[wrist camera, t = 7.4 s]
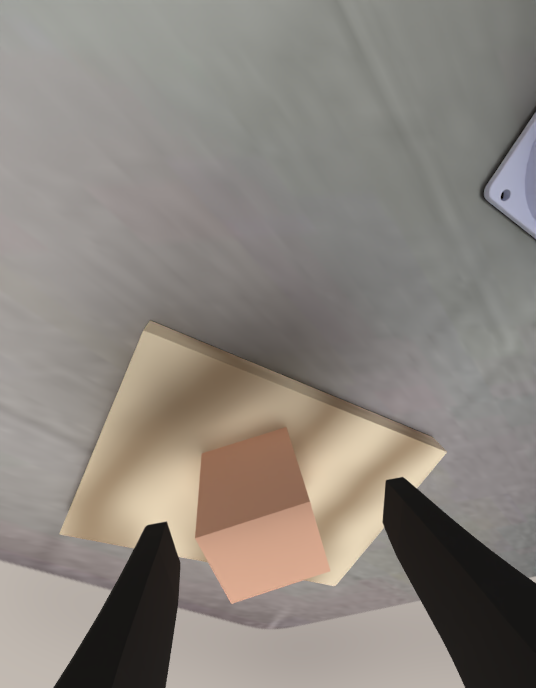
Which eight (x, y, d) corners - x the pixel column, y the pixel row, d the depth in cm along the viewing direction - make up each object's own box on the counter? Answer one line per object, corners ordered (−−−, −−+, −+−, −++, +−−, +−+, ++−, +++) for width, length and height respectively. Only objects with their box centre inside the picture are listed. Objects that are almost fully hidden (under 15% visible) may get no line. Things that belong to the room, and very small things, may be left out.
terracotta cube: (286, 427, 17) (310, 501, 13) (304, 487, 19) (330, 571, 15) (201, 453, 17) (194, 538, 13) (228, 512, 19) (231, 603, 15)
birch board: (432, 437, 21) (447, 452, 20) (328, 566, 25) (335, 586, 24) (150, 320, 15) (143, 330, 14) (70, 511, 19) (59, 534, 18)
